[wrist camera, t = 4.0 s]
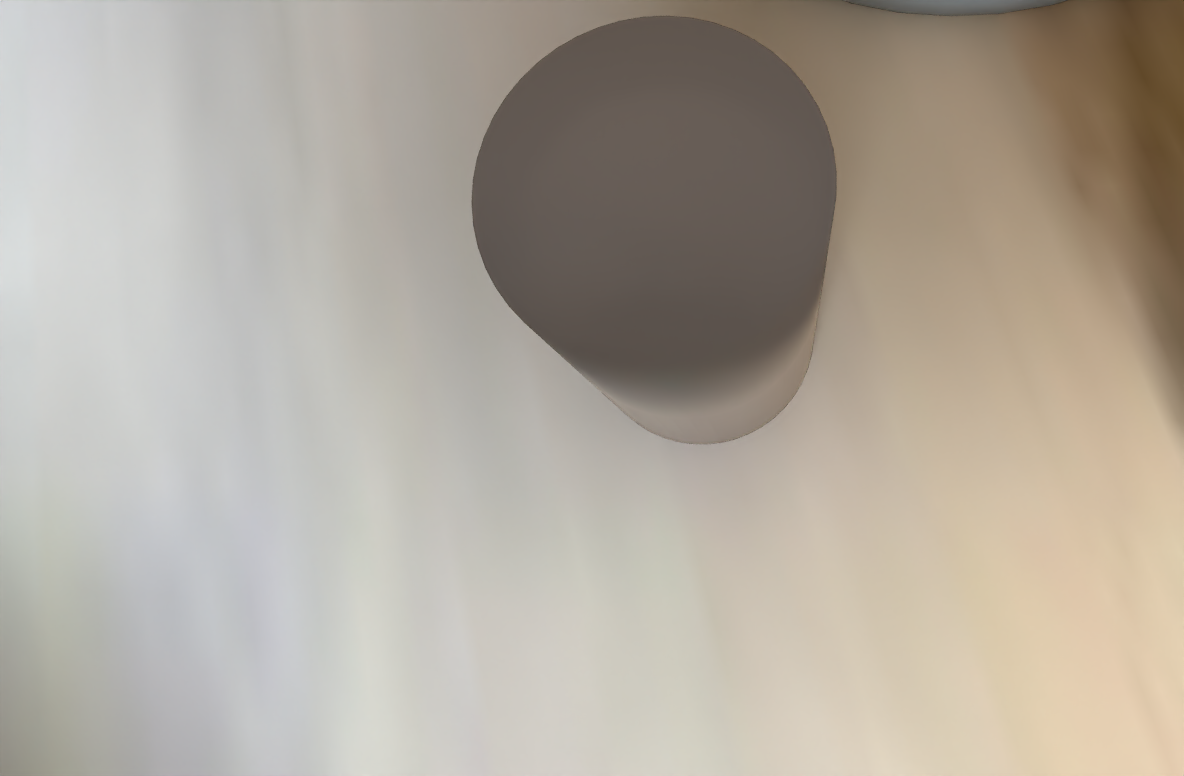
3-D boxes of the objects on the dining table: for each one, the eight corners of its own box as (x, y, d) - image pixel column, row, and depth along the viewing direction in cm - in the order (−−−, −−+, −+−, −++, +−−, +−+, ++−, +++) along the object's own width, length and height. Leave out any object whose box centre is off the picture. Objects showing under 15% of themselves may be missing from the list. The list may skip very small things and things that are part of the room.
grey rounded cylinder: (550, 344, 25) (401, 208, 15) (695, 187, 25) (640, -52, 15) (708, 490, 24) (657, 446, 14) (860, 326, 23) (917, 165, 14)
